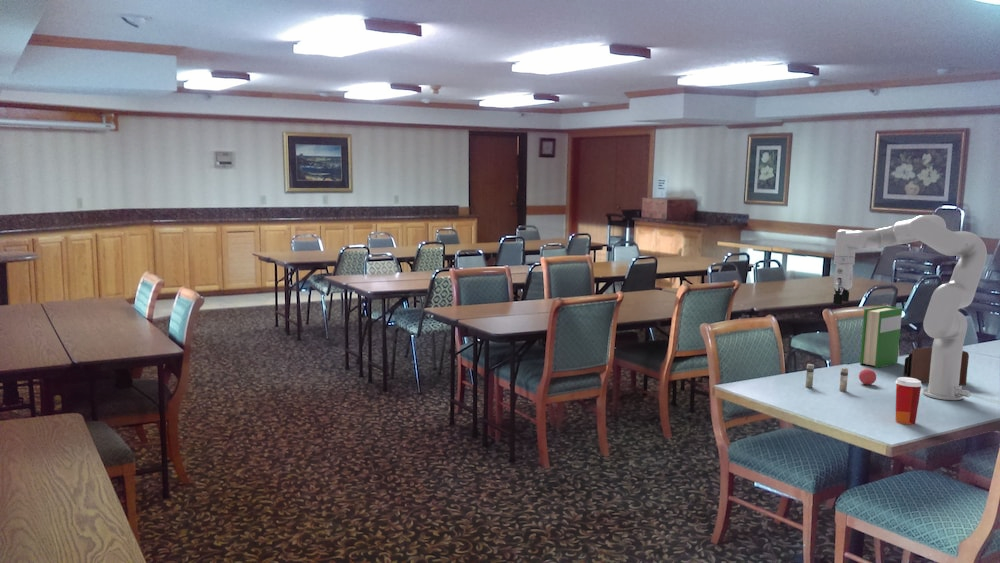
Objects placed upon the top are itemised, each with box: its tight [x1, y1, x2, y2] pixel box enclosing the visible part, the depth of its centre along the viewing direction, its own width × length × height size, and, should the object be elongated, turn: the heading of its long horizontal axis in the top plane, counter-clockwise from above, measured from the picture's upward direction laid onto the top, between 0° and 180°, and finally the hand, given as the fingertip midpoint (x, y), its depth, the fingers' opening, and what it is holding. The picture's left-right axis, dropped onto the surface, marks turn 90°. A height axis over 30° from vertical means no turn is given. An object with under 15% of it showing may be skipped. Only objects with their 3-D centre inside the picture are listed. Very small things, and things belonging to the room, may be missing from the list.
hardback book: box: [859, 305, 903, 369], centre depth 329 cm, size 18×7×24 cm, turn 128°
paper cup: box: [895, 376, 923, 426], centre depth 247 cm, size 8×8×14 cm
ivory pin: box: [838, 367, 849, 393], centre depth 284 cm, size 2×2×8 cm
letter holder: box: [902, 347, 970, 386], centre depth 303 cm, size 10×20×14 cm, turn 76°
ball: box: [858, 368, 877, 385], centre depth 294 cm, size 6×6×6 cm
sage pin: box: [805, 363, 815, 389], centre depth 289 cm, size 2×2×8 cm
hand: (840, 302), depth 310 cm, fingers open, 9 cm apart
